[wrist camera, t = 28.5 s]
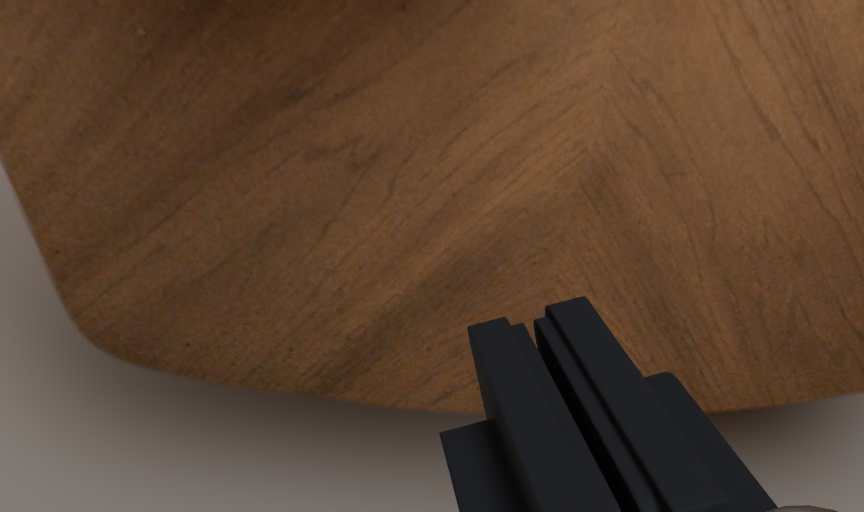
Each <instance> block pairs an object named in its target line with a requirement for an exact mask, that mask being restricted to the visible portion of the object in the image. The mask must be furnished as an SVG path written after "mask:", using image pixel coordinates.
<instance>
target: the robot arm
mask: <svg viewBox="0 0 864 512" xmlns="http://www.w3.org/2000/svg"><path fill="white" fill-rule="evenodd" d="M534 331H535V337H536V343H537V348H538V350H537V348H536V346H535V344H534V342H533V340H532V338H531V336H530V334H529V332H528V331H527V329H526V327H525V325H524V323H520V324H516V325H512V326H510V324H509V322H508V320H507V318H506V317H502V318H498V319H494V320H491V321H487V322H483V323H479V324H475V325H472V326H468V335H469V340H470V345H471V349H472V354H473V358H474V363H475V367H476V372H477V377H478V381H479V386H480V390H481V395H482V399H483V404H484V409H485V413H486V418H487V420H485V421H481V422H477V423H474V424H470V425H466V426H463V427H459V428H455V429H451V430H448V431H444V432H440V437H441V441H442V445H443V449H444V453H445V457H446V461H447V465H448V469H449V472H450V476H451V480H452V484H453V488H454V492H455V496H456V500H457V504H458V507H459V511H460V512H837V511H835V510H830V509H825V508H820V507H815V506H809V505H808V506H784V507H780V508H778V507H777V506H776V505H775V503H774V502H773V501H772V499H771V498H770V497H769V496H768V494H767V493H766V492H765V491H764V489H763V488H762V487H761V485H760V484H759V483H758V481H757V480H756V479H755V478H754V476H753V475H752V474H751V473H750V471H749V470H748V469H747V467H746V466H745V465H744V464H743V462H742V461H741V460H740V458H739V457H738V456H737V455H736V453H735V452H734V451H733V450H732V448H731V447H730V446H729V445H728V443H727V442H726V441H725V439H724V438H723V437H722V435H721V434H720V433H719V431H718V430H717V429H716V428H715V427H714V425H713V424H712V423H711V421H710V420H709V419H708V417H707V416H706V415H705V414H704V412H703V411H702V410H701V408H700V407H699V406H698V405H697V403H696V402H695V401H694V399H693V398H692V397H691V396H690V394H689V393H688V392H687V390H686V389H685V388H684V387H683V385H682V384H681V383H680V382H679V380H678V379H677V378H676V377H675V376H674V375H673V374H672V373H669V372H663V373H660V374H656V375H652V376H648V377H645V378H643V376H642V375H641V373H640V372H639V371H638V369H637V368H636V366H635V365H634V364H633V362H632V361H631V359H630V358H629V357H628V355H627V354H626V352H625V351H624V349H623V348H622V347H621V345H620V344H619V342H618V341H617V340H616V338H615V337H614V335H613V334H612V333H611V331H610V330H609V328H608V327H607V326H606V324H605V323H604V321H603V320H602V319H601V317H600V316H599V314H598V313H597V312H596V310H595V309H594V307H593V306H592V305H591V303H590V302H589V300H588V299H587V298H586V297H584V296H582V297H578V298H574V299H571V300H567V301H563V302H559V303H555V304H552V305H548V306H546V307H545V317H543V318H539V319H535V320H534Z"/></svg>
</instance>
